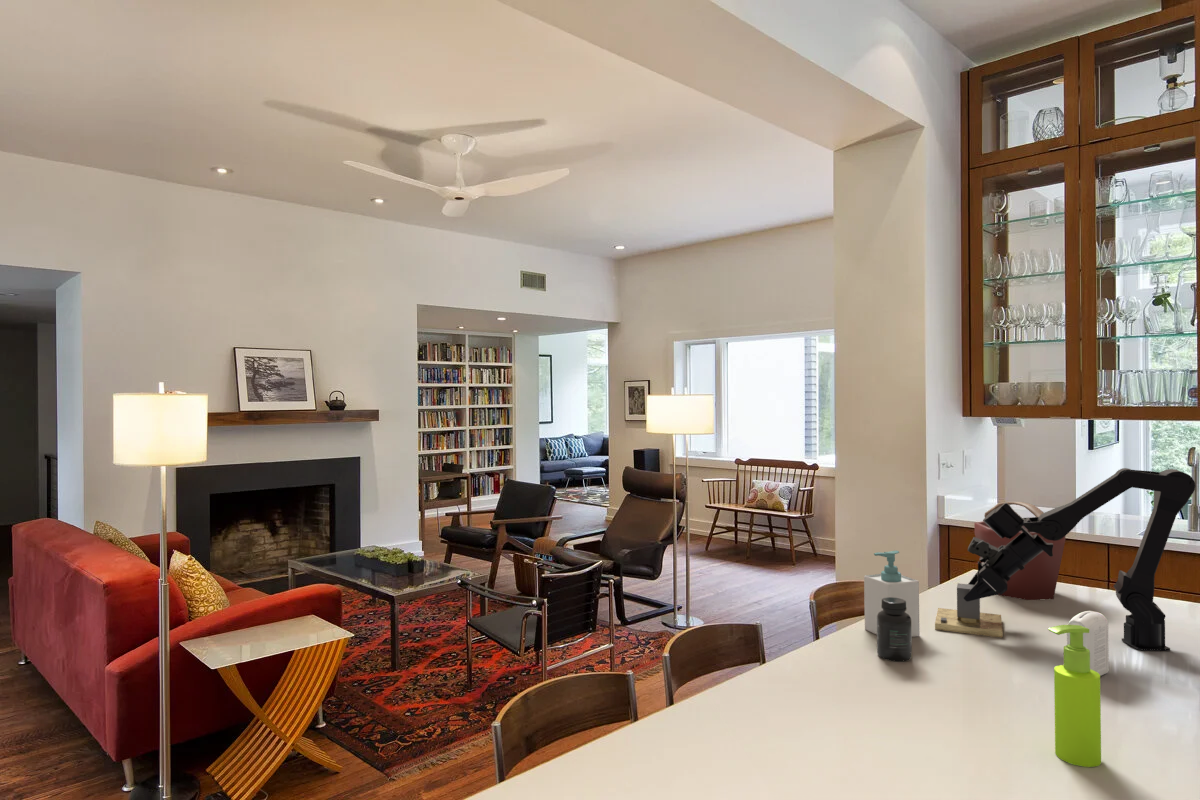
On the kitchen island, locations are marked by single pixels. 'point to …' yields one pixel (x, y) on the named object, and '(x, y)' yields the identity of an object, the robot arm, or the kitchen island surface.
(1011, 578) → the bucket
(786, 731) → the kitchen island surface
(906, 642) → the supplement bottle
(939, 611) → the socket
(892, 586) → the soap bottle
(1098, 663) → the photo printer
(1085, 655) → the soap dispenser
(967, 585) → the plug
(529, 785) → the kitchen island surface
